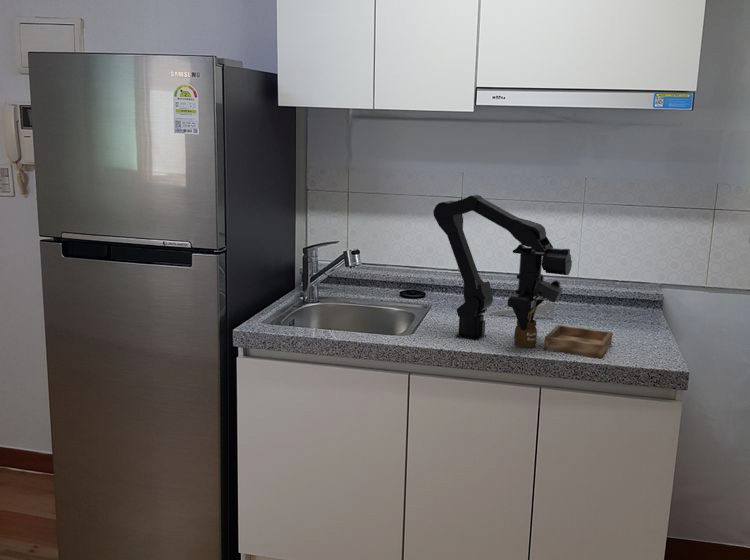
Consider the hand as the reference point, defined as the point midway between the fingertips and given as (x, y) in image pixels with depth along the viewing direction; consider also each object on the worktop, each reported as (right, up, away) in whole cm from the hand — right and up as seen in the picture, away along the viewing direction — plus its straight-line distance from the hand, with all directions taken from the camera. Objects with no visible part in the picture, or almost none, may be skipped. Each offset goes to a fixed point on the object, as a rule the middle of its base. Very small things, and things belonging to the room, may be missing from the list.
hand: (526, 327), depth 198 cm
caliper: (+5, +1, +33) cm, 33 cm away
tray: (+14, -5, +1) cm, 15 cm away
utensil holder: (0, -5, +1) cm, 5 cm away
